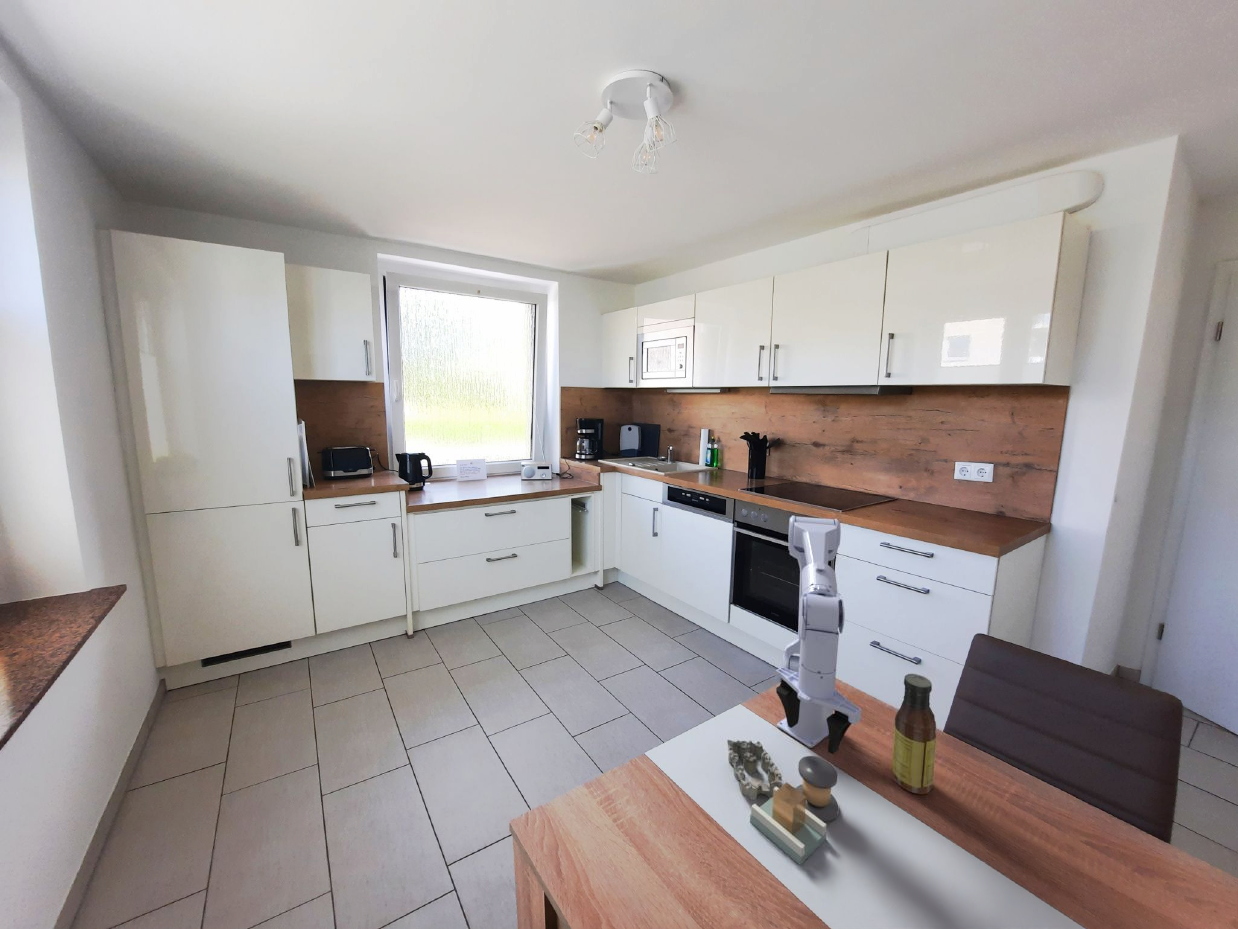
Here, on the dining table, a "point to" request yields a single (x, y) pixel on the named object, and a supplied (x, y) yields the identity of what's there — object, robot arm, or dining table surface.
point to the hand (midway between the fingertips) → (812, 737)
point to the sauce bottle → (915, 737)
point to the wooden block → (789, 808)
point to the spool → (818, 787)
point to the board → (795, 844)
